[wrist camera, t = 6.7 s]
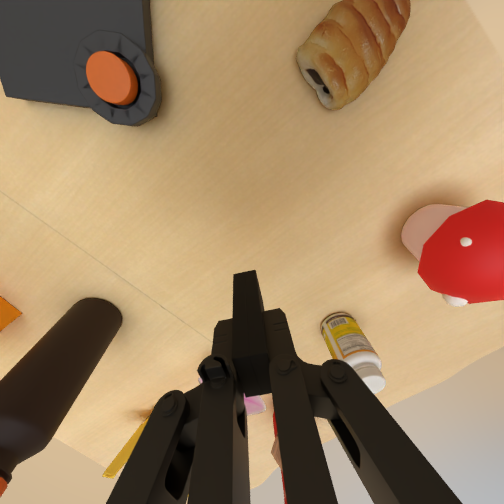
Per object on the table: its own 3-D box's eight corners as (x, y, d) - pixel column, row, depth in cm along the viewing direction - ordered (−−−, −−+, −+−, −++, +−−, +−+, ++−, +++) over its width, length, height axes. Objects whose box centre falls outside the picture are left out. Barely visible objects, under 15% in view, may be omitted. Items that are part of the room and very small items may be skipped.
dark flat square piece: (161, -28, 18) (145, -61, 15) (168, 129, 23) (158, 129, 20) (-22, -62, 17) (-82, -107, 14) (27, 112, 22) (-8, 109, 19)
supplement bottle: (339, 340, 38) (371, 404, 29) (312, 330, 37) (337, 394, 28) (361, 318, 36) (402, 379, 27) (334, 306, 35) (368, 366, 26)
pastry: (373, -44, 18) (405, -85, 15) (412, 34, 21) (447, 15, 17) (287, 62, 21) (297, 48, 18) (331, 120, 23) (347, 118, 20)
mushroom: (440, 268, 33) (537, 332, 22) (369, 260, 31) (437, 324, 21) (485, 194, 28) (637, 231, 17) (404, 181, 27) (515, 211, 16)
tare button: (136, 60, 18) (127, 54, 17) (140, 107, 19) (133, 105, 18) (93, 53, 18) (80, 47, 16) (100, 102, 19) (90, 100, 18)
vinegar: (129, 307, 33) (0, 511, 15) (116, 338, 35) (-8, 544, 17) (78, 289, 31) (-137, 498, 13) (68, 323, 33) (-124, 536, 16)
